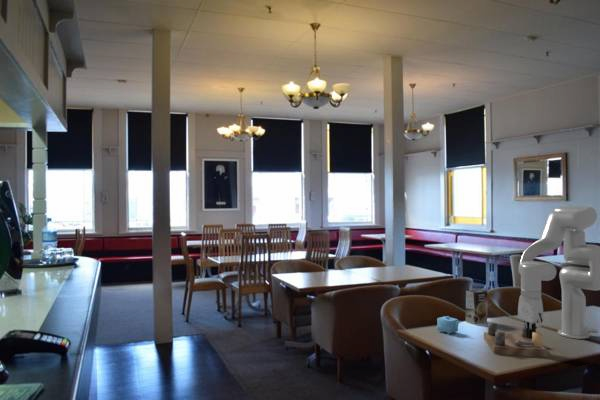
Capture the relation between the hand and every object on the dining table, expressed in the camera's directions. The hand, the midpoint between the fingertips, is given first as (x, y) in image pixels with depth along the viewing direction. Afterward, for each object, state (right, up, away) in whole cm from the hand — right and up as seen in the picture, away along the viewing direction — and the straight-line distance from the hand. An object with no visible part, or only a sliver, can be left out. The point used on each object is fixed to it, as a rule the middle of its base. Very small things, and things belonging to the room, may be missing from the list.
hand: (531, 338), depth 186 cm
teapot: (-25, -6, +26) cm, 36 cm away
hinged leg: (-3, -2, -4) cm, 5 cm away
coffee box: (-5, -6, +44) cm, 45 cm away
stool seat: (-5, -5, +4) cm, 8 cm away
